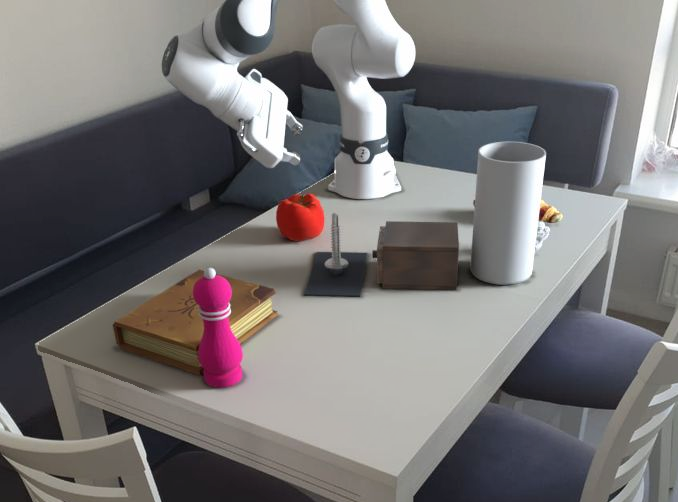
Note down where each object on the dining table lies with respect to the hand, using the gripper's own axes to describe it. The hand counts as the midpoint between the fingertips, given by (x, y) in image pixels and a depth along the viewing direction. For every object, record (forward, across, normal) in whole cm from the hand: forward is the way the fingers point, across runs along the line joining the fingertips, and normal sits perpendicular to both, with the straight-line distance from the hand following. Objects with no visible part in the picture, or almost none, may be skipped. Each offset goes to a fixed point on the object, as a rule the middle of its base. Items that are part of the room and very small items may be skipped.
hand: (299, 146), depth 157 cm
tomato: (+17, +4, +21) cm, 28 cm away
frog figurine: (+52, -6, -15) cm, 54 cm away
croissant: (+56, +12, -10) cm, 58 cm away
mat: (+19, -15, +10) cm, 26 cm away
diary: (-4, -37, +21) cm, 43 cm away
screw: (+19, -15, +10) cm, 26 cm away
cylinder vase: (+44, -15, -12) cm, 48 cm away
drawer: (+29, -16, 0) cm, 33 cm away
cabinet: (+31, -16, -1) cm, 35 cm away
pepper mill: (-3, -51, +13) cm, 53 cm away
